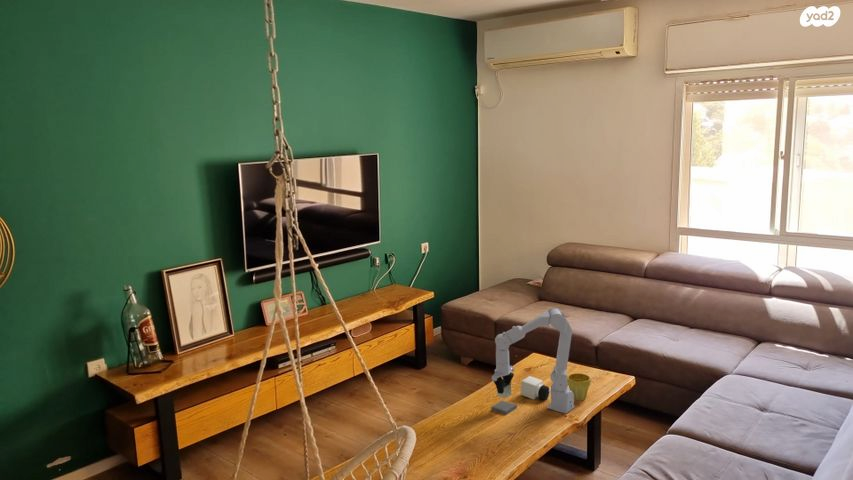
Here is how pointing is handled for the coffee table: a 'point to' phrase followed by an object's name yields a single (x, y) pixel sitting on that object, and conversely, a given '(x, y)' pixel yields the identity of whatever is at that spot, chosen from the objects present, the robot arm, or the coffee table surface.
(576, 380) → the plant pot
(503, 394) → the grey green cube
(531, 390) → the medicine bottle
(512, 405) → the block
